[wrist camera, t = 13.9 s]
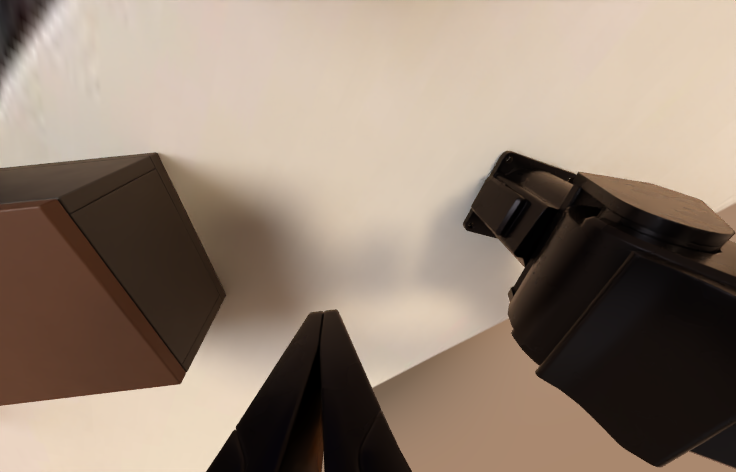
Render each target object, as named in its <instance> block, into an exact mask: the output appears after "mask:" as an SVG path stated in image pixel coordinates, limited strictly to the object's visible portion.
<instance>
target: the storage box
mask: <svg viewBox="0 0 736 472" xmlns="http://www.w3.org/2000/svg"><path fill="white" fill-rule="evenodd" d="M48 199H57V200H58V201H59V203H60V204H61V205H62V207H63V208H64V209H65V211H66V212H67V213H68V215H69V216H70V217H71V219H72V220H73V221H74V223H75V224H76V225H77V227H78V228H79V230H80V231H81V232H82V234H83V235H84V236H85V238H86V239H87V240H88V242H89V243H90V244H91V246H92V247H93V248H94V250H95V251H96V252H97V254H98V255H99V256H100V258H101V259H102V260H103V262H104V263H105V264H106V266H107V267H108V268H109V270H110V271H111V273H112V274H113V275H114V277H115V278H116V279H117V281H118V282H119V283H120V285H121V286H122V287H123V289H124V290H125V291H126V293H127V294H128V295H129V297H130V298H131V299H132V301H133V302H134V303H135V305H136V306H137V307H138V309H139V310H140V311H141V313H142V314H143V315H144V317H145V318H146V320H147V321H148V322H149V324H150V325H151V326H152V328H153V329H154V330H155V332H156V333H157V334H158V336H159V337H160V338H161V340H162V341H163V342H164V344H165V345H166V346H167V348H168V349H169V350H170V352H171V353H172V354H173V356H174V357H175V358H176V360H177V361H178V363H179V364H180V365H181V367H182V368H183V369H184V371H185V372H187V371H188V369H189V367H190V365H191V363H192V361H193V359H194V357H195V355H196V354H197V352H198V350H199V348H200V346H201V344H202V342H203V340H204V338H205V336H206V334H207V332H208V330H209V328H210V326H211V324H212V322H213V320H214V318H215V316H216V314H217V312H218V310H219V308H220V306H221V305H222V303H223V301H224V299H225V297H226V294H225V292H224V290H223V288H222V286H221V284H220V282H219V280H218V278H217V275H216V273H215V271H214V269H213V267H212V265H211V263H210V261H209V259H208V257H207V255H206V253H205V251H204V249H203V247H202V245H201V243H200V240H199V238H198V236H197V234H196V232H195V230H194V228H193V226H192V224H191V222H190V220H189V218H188V216H187V214H186V212H185V210H184V207H183V205H182V203H181V201H180V199H179V197H178V195H177V193H176V191H175V189H174V187H173V185H172V183H171V181H170V179H169V177H168V175H167V172H166V170H165V168H164V166H163V164H162V162H161V160H160V158H159V156H158V154H157V153H147V154H137V155H127V156H117V157H107V158H98V159H88V160H78V161H68V162H58V163H48V164H38V165H28V166H18V167H8V168H0V204H10V203H19V202H29V201H39V200H48Z"/></svg>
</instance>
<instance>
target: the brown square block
mask: <svg viewBox="0 0 736 472" xmlns="http://www.w3.org/2000/svg"><path fill="white" fill-rule="evenodd" d="M185 374H186V372H185V371H184V369H183V368H182V367H181V365H180V364H179V363H178V361H177V360H176V358H175V357H174V356H173V354H172V353H171V352H170V350H169V349H168V348H167V346H166V345H165V344H164V342H163V341H162V340H161V338H160V337H159V336H158V334H157V333H156V332H155V330H154V329H153V328H152V326H151V325H150V324H149V322H148V321H147V320H146V318H145V317H144V315H143V314H142V313H141V311H140V310H139V309H138V307H137V306H136V305H135V303H134V302H133V301H132V299H131V298H130V297H129V295H128V294H127V293H126V291H125V290H124V289H123V287H122V286H121V285H120V283H119V282H118V281H117V279H116V278H115V277H114V275H113V274H112V273H111V271H110V270H109V268H108V267H107V266H106V264H105V263H104V262H103V260H102V259H101V258H100V256H99V255H98V254H97V252H96V251H95V250H94V248H93V247H92V246H91V244H90V243H89V242H88V240H87V239H86V238H85V236H84V235H83V234H82V232H81V231H80V230H79V228H78V227H77V225H76V224H75V223H74V221H73V220H72V219H71V217H70V216H69V215H68V213H67V212H66V211H65V209H64V208H63V207H62V205H61V204H60V203H59V201H58V200H57V199H48V200H39V201H29V202H19V203H10V204H0V406H2V405H10V404H18V403H27V402H35V401H43V400H52V399H60V398H68V397H77V396H85V395H93V394H102V393H110V392H118V391H127V390H135V389H143V388H152V387H160V386H168V385H177V384H181V382H182V380H183V378H184V376H185Z"/></svg>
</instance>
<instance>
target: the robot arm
mask: <svg viewBox="0 0 736 472" xmlns="http://www.w3.org/2000/svg"><path fill="white" fill-rule="evenodd" d="M508 156H510V159H509V160H508V161H506V158H507V157H508ZM569 178H570V180H569V181H568V179H569ZM471 207H472V208H471V210H470V212H469V213H468V215H467V217H466V219H465V221H464V223H463V226H464V228H465V229H466V230H467V231H470V232H474V233H478V234H482V235H486V236H490V237H493V238H497V239H499V240H500V241H501V242H502V243H503V244H504V245H505V247H506V248H507V249H508V250H509V251H510V252H511V253H512V254H513V255H514V256H515V258H516V259H517V260H518V261H519V262H520V263H521V264H522V265H523V266H524V267H525V268H524V270H523V272H522V274H521V275H520V277H519V279H518V280H517V282H516V284H515V286H514V287H512V288H511V289H510V291H509V292H508V297H509V301H510V303H509V309H508V316H509V319H510V322H511V325H512V327H513V330H512V336H513V337H514V339H515V340H516V341H517V343H518V344H519V346H520V347H521V348H522V350H523V351H524V352H525V353H526V354H527V355H528V356H529V357H530V358H531V359H532V360H533V361H534V362H536V363H537V364H538V365H539V368H538V369H537V370H536V371H535V372H536V375H537V376H538V377H539V378H541V379H543V380H544V381H546V382H548V383H550V384H551V385H553V386H555V387H557V388H558V389H560V390H561V391H562V392H564V393H565V394H566V395H568V396H569V397H570V398H571V399H573V400H574V401H575V402H577V403H578V404H579V405H580V406H581V407H582V408H583V409H584V410H585V411H586V412H588V413H589V414H590V415H591V416H592V417H593V418H594V419H595V420H596V421H597V422H598V423H599V424H600V425H601V426H602V427H603V428H604V429H605V430H606V431H607V433H608V434H609V435H611V437H612V438H613V439H614V440H615V441H616V442H617V443H618V444H619V445H621V446H622V447H623V448H625V449H626V450H628V451H629V452H631V453H633V454H634V455H636V456H638V457H639V458H641V459H643V460H644V461H646V462H648V463H649V464H651V465H653V466H656V467H663V466H665V465H666V464H668V463H670V462H671V461H673V460H675V459H676V458H678V457H680V456H681V455H683V454H685V453H687V452H688V451H689V452H692V453H694V454H697V455H700V456H702V457H705V458H708V459H711V460H713V461H716V462H719V463H721V464H724V465H726V466H729V467H732V468H734V469H736V243H734V242H732V241H729V239H730V238H731V237H732V236H733V235H734V234H735V231H734V230H733V229H732V228H731V227H730V226H729V225H728V224H727V223H726V222H725V221H724V220H722V219H721V218H720V217H719V216H718V215H717V214H716V213H715V212H714V211H713V210H712V209H711V208H710V207H708V206H707V205H706V204H705V203H704V202H703V201H702V200H700V199H697V198H694V197H691V196H688V195H685V194H682V193H679V192H676V191H673V190H669V189H666V188H663V187H660V186H657V185H654V184H650V183H645V182H639V181H633V180H627V179H620V178H614V177H608V176H602V175H596V174H590V173H583V172H578V173H577V175H576V174H574V173H571V172H568V171H566V170H563V169H560V168H557V167H554V166H551V165H549V164H546V163H543V162H540V161H537V160H534V159H531V158H529V157H526V156H523V155H520V154H517V153H514V152H512V151H506V152H504V153H502V155H501V156H500V158H499V160H498V162H497V163H496V165H495V167H494V169H493V170H492V172H491V174H490V176H489V177H488V178H487V179H486V181H485V183H484V184H483V186H482V188H481V190H480V192H479V193H478V195H477V197H476V199H475V201H474V202H473V204H472V206H471ZM470 223H472V224H471V225H470V226H468V225H469V224H470ZM323 451H324V469H325V470H324V471H325V472H412V471H411V469H410V467H409V466H408V464H407V462H406V460H405V458H404V456H403V454H402V453H401V451H400V449H399V447H398V445H397V443H396V440H395V438H394V436H393V434H392V432H391V430H390V428H389V426H388V423H387V421H386V419H385V417H384V414H383V412H382V411H381V408H380V405H379V403H378V401H377V398H376V397H375V394H374V392H373V389H372V387H371V385H370V382H369V380H368V378H367V376H366V373H365V371H364V369H363V366H362V364H361V362H360V360H359V357H358V355H357V353H356V350H355V348H354V346H353V344H352V341H351V339H350V337H349V334H348V332H347V330H346V328H345V325H344V323H343V321H342V318H341V316H340V314H339V312H338V310H336V309H335V310H327V311H325V312H323V311H318V312H311V313H310V314H309V315H308V316H307V318H306V319H305V321H304V322H303V324H302V326H301V327H300V329H299V330H298V332H297V333H296V335H295V336H294V338H293V339H292V341H291V343H290V344H289V346H288V347H287V349H286V350H285V352H284V353H283V355H282V356H281V358H280V360H279V361H278V363H277V364H276V366H275V367H274V369H273V370H272V372H271V373H270V375H269V377H268V378H267V380H266V381H265V383H264V384H263V386H262V387H261V389H260V390H259V392H258V394H257V395H256V397H255V398H254V400H253V401H252V403H251V404H250V406H249V407H248V409H247V411H246V412H245V414H244V415H243V417H242V418H241V420H240V421H239V423H238V424H237V426H236V430H234V431H233V432H232V433H231V435H230V437H229V438H228V440H227V441H226V443H225V444H224V446H223V447H222V449H221V450H220V452H219V453H218V455H217V456H216V458H215V459H214V461H213V462H212V464H211V465H210V467H209V468H208V470H207V471H206V472H321V471H322V461H323Z"/></svg>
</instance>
